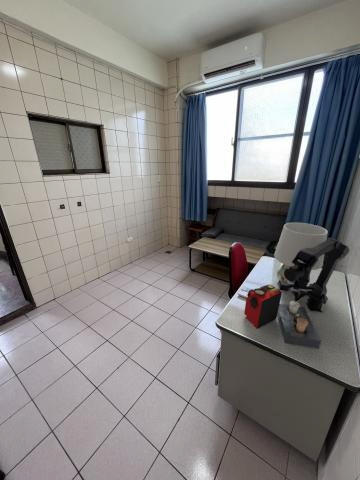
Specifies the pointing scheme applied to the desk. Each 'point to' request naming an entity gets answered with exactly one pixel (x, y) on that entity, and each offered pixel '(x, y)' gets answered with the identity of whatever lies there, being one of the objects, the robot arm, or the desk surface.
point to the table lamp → (298, 245)
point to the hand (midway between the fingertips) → (295, 301)
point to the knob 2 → (301, 325)
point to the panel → (289, 326)
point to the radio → (262, 305)
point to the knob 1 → (293, 307)
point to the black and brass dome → (296, 317)
